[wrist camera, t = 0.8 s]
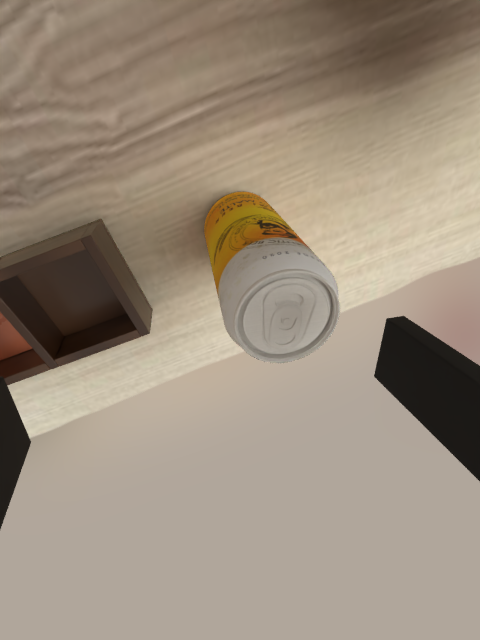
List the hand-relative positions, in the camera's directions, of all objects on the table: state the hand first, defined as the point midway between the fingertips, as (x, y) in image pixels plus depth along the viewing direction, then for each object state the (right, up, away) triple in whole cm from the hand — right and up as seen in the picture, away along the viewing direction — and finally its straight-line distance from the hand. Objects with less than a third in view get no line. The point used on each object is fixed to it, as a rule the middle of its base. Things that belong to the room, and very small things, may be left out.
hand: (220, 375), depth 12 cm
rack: (-21, +2, +18) cm, 28 cm away
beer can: (+1, +10, +17) cm, 20 cm away
